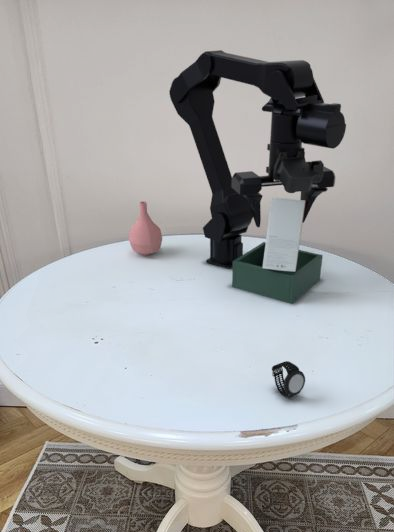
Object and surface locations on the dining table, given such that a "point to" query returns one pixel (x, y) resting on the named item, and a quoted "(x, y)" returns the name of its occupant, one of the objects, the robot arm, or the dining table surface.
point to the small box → (283, 234)
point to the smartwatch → (288, 379)
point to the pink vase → (145, 233)
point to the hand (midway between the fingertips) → (280, 224)
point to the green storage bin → (276, 275)
